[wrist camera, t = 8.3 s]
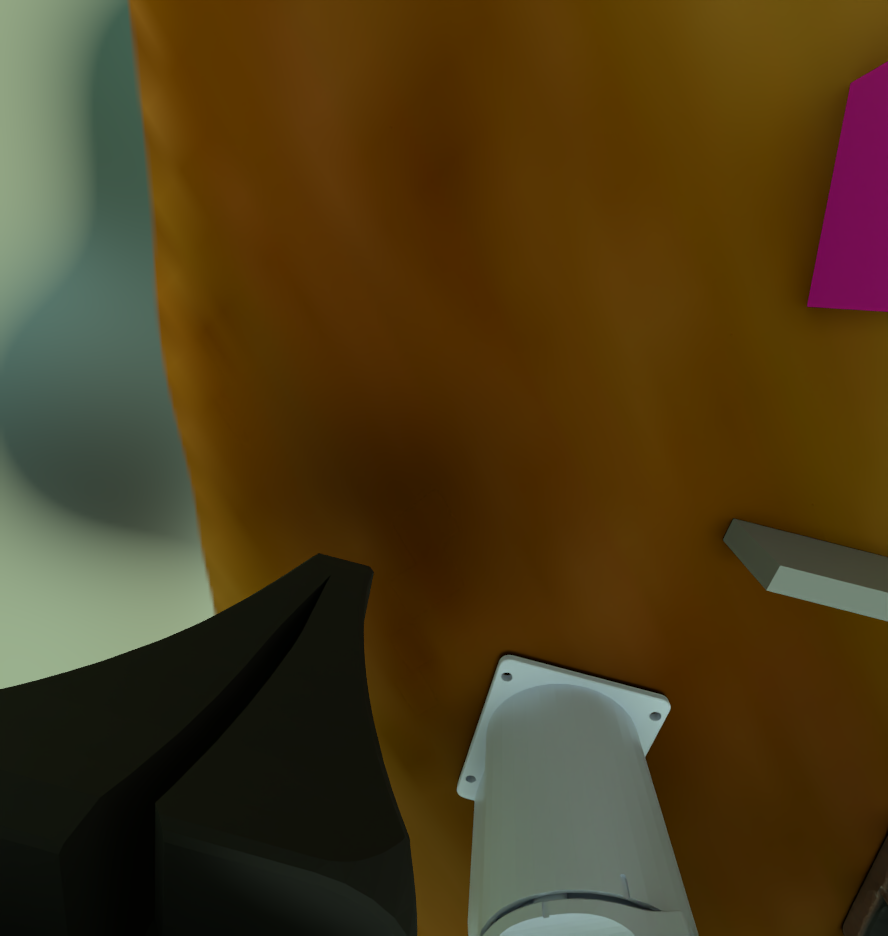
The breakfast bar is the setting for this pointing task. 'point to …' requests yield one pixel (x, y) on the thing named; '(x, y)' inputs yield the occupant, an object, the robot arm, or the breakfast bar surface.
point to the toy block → (857, 206)
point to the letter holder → (871, 901)
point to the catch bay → (812, 568)
